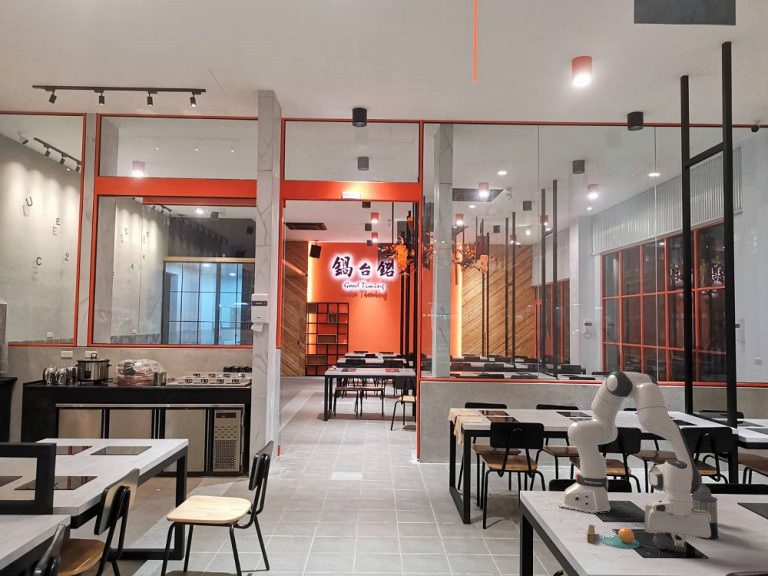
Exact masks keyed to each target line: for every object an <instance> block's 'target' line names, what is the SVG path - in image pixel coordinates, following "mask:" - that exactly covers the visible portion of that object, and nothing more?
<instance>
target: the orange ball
mask: <svg viewBox="0 0 768 576" xmlns="http://www.w3.org/2000/svg"><path fill="white" fill-rule="evenodd" d="M617 535H618V536H619V539H620V540H621V541H622V542H624V543H631V542H632V541H633V539H634V540H635V534H634V531H633V530H632V529H631V528H629V527H625V526H623V527H621V528H619V530H618V532H617Z"/></svg>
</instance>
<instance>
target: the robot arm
mask: <svg viewBox="0 0 768 576" xmlns="http://www.w3.org/2000/svg"><path fill="white" fill-rule="evenodd" d="M625 398H626V399H633V401H634V403H635V408H636V413H637V418H638V421H639V424H640V426H641V427H642V428H643V429H644V430H646V431H648V433H651V434H653V435H656V436H659V437H662V438H663V439H665V440H666V441H668V442H669V443H670V445H671V446H672V448H673V451H674V455H675V456H676V459H673V458H671V459H667V460H666V461H664V463H661V464H656V465H655V464H654V465H653V466H651V467H650V469H649V470H648V482H649V484H650V486H652V488H653V489H654V490H656V491H659V492H664V498H661V499H655V500H652V501H651V505H650V506H652V509H651V510H650V512H649V517H648V527H649V529H650V530H653V531H661V532H666V533H668V534H669V533H670V536H671V538H672V540H673V541H674V546H675V547H678V548H679V547H680V548H684V547H685V542H686V541H687V539H688V536H689V537H691V536H692V537H696V536H697V538H699V537H704V538H709V537H710V536H711V529H710V524H709V523H710V522H711V514H710V513H709V512H707V511H706V510H699V509H693V508H692V497H691V495H692V493H695V492H696V491H698V490H699V488H700V487H701V485H702V484H703V478H702V475H701V473H700V471H699V469H698V467H697V465H696V463H695V461H694V459H693V455H692V453H691V451H690V448H689V446H688V444H687V441H686V438H685V436H684V432H682V429H681V428H680V425H678V424H677V423H676V422H675V421H673V419H672V418H671V416H670V414H669V412H668V409H667V404H666V400H665V398H664V395H663V392H662V390H661V388H660V385H659V383H658V380H657V379H656V377H654V376H652V375H650V374H647V373H642V372H641V373H640V372H636V371H622V370H617V371H616V370H615V371H612V372H610V373H609V374H608V375H607V376H606V377H605V379H604V380H603V382H602V383H601V384H600V386H599V388H598V390H597V392H596V395H595V396H594V399H593V400H592V403H591V406H590V407H591V411H592V412H593V417H592V418H591V419H589V420H586V419H585V420H578V421H576V422H573V423H571V424H570V425H568V428H567V437H568V439H569V441H570V442H571V443H572V444H573V445H574V446H575V447H576V449H577V452H578V456H579V464H580V465H579V467H580V470H579V471H580V472H579V473H578V472H577V473H576V474H575V475H574V476H575V482H574V483H573V484H572V485H570V486H568V487H566V488H565V490H564V492H563V496H562V498H560V499H558V502H557V505H558V504H559V506H561V507H565V508H564V509H566V508H569V509H568V510H571V509H575V510H574V511H577V510H580V511H579V512H582V511H585V512H584V513H587V512H592V513H591V514H593V513H595V514H597V513H596V512H600V513H602V512H601V511H608V512H610V511H611V510H610V509H612V508H611V506H610V501H609V495H608V489H609V480H608V477H607V460H606V458H605V456H604V455H602V454H601V453H600V451H599V445H605V444H606V445H607V444H609V443H612V442H614V441H616V439H617V437H618V435H619V434H618V433H619V432H618V431H619V430H618V427H617V425H616V423H615V421H616V417H617V415H618V413H619V411H620V408H621V406H622V404H623V402H624V399H625ZM559 506H558V507H559ZM561 507H560V508H561ZM609 510H610V511H609ZM700 512H701V513H700ZM677 534H678V535H682V539H681V540H678V539H676V535H677Z"/></svg>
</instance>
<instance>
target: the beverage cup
mask: <svg viewBox="0 0 768 576" xmlns="http://www.w3.org/2000/svg"><path fill="white" fill-rule="evenodd" d="M693 494H703V495H709V496H712V492H711V489H710V488H709V486H707V484H703V483H702V485H701V487H700V488H699V490H698V491H696V492H695V493H691V495H693Z"/></svg>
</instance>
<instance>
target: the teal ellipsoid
mask: <svg viewBox="0 0 768 576" xmlns="http://www.w3.org/2000/svg"><path fill="white" fill-rule="evenodd" d="M612 535H613V536H614V535H615V536H614V537H612V538H611V536H610V538H609V537H605V536H604V535H601V536H600V537H601V538H600V537H599V539H600V540H599V541H600V542H601V543H602V544H604V545H606V546H609V547H612V548H616V549H625V550H626V549H627V550H631V549H633V550H634V549H637V547H638V548H640V546H641V545H640V542H639V541H638V540H636V539H635V538H634V539H633V541H632V542H631V543H624V542H622V541H621V540H620V539H619V536H618V534H612ZM603 536H604V538H602V537H603Z"/></svg>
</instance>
